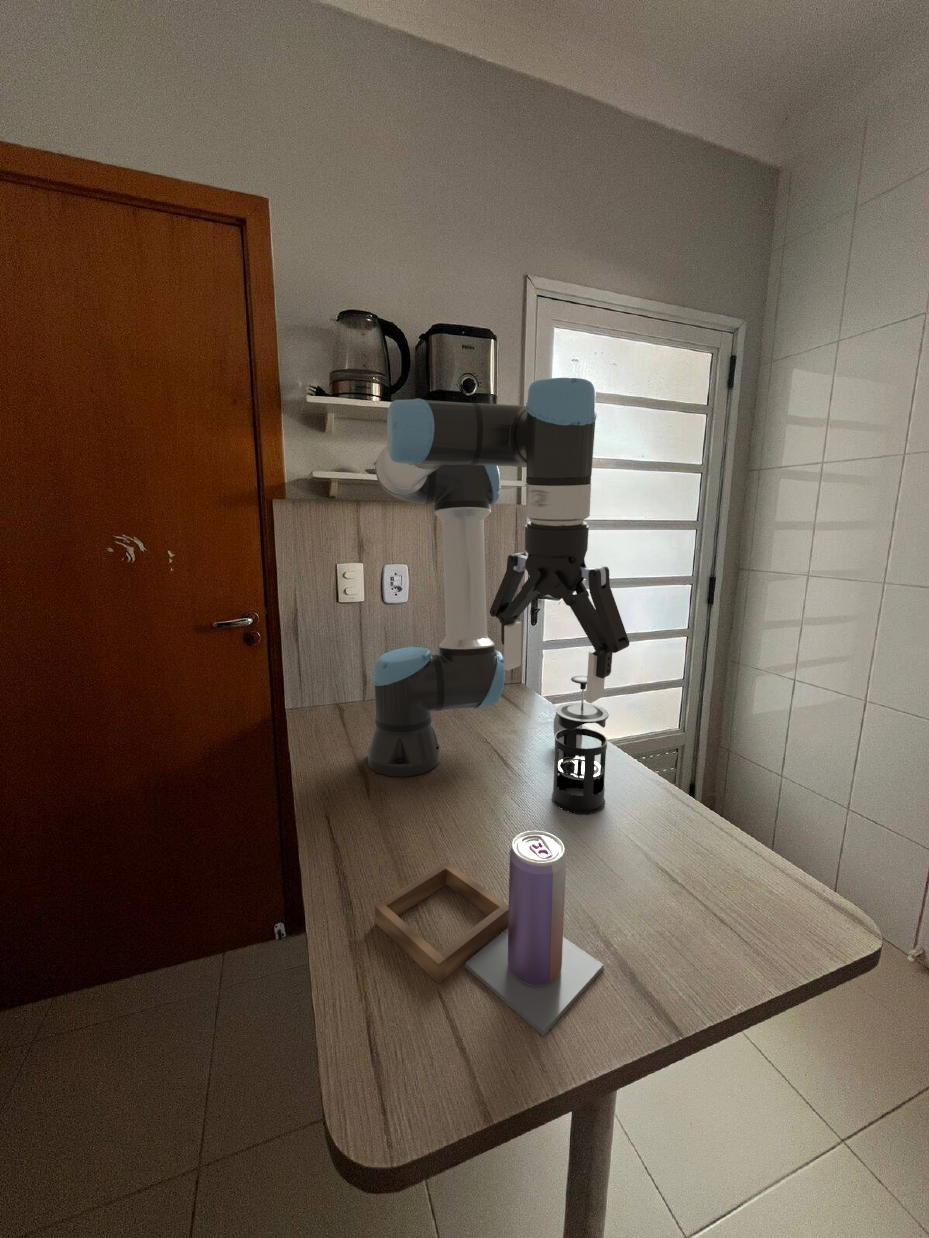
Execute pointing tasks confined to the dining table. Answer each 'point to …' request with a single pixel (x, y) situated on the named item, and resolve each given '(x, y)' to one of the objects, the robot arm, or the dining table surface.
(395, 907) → the walnut holder
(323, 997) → the dining table surface
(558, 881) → the beverage can
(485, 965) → the slate coaster
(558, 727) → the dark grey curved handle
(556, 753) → the french press
